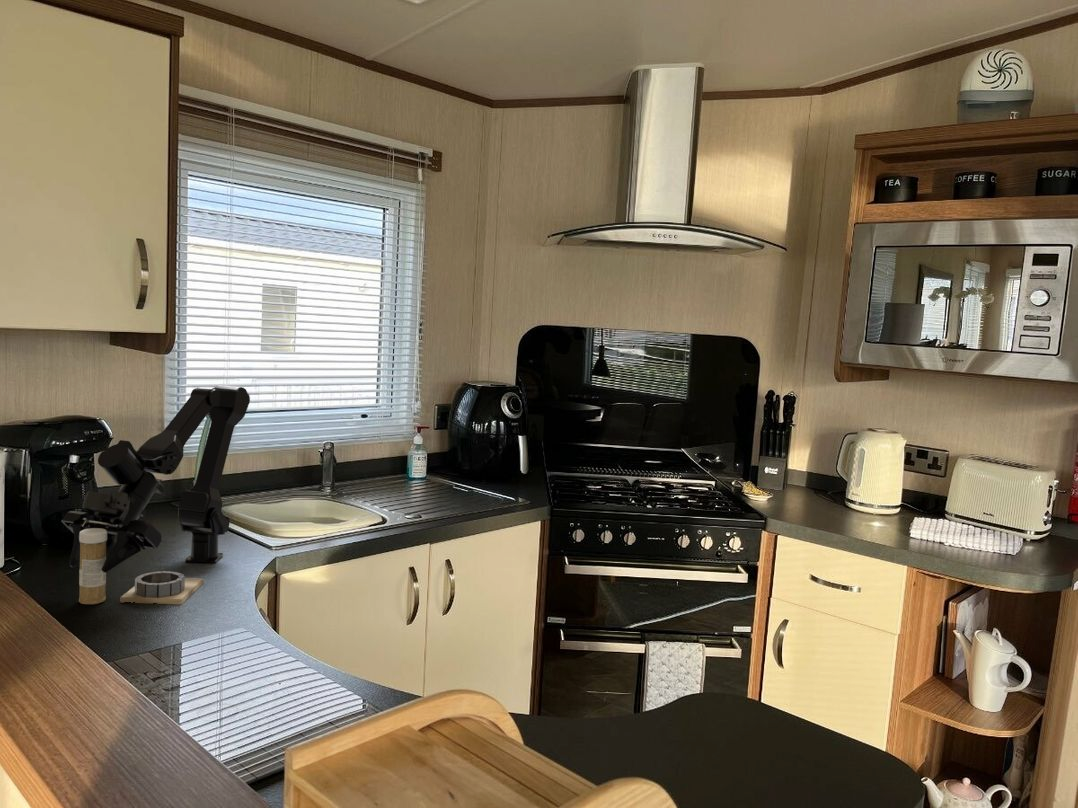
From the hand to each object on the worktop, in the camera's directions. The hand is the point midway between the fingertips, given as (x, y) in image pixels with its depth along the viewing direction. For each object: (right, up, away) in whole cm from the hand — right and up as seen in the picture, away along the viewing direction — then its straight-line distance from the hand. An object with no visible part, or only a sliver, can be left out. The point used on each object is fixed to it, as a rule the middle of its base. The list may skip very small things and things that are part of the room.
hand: (87, 568), depth 156 cm
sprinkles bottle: (0, -7, +2) cm, 7 cm away
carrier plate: (+10, -6, +9) cm, 15 cm away
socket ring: (+10, -7, +7) cm, 14 cm away
